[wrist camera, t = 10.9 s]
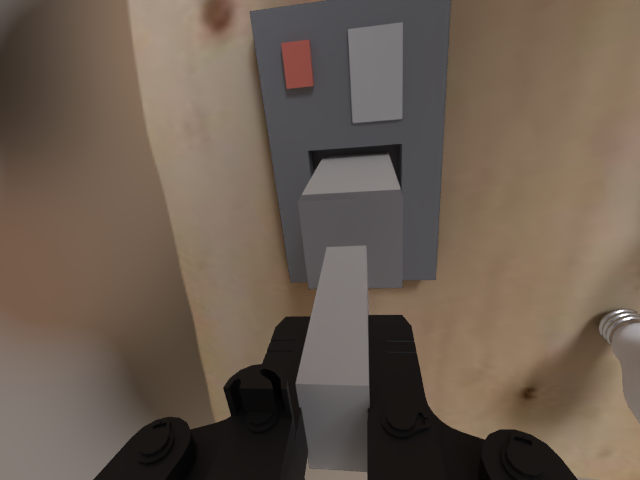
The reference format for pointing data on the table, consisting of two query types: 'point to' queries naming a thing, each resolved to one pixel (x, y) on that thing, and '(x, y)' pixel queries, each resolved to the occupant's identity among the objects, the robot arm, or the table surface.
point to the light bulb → (625, 351)
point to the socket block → (357, 105)
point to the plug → (354, 215)
